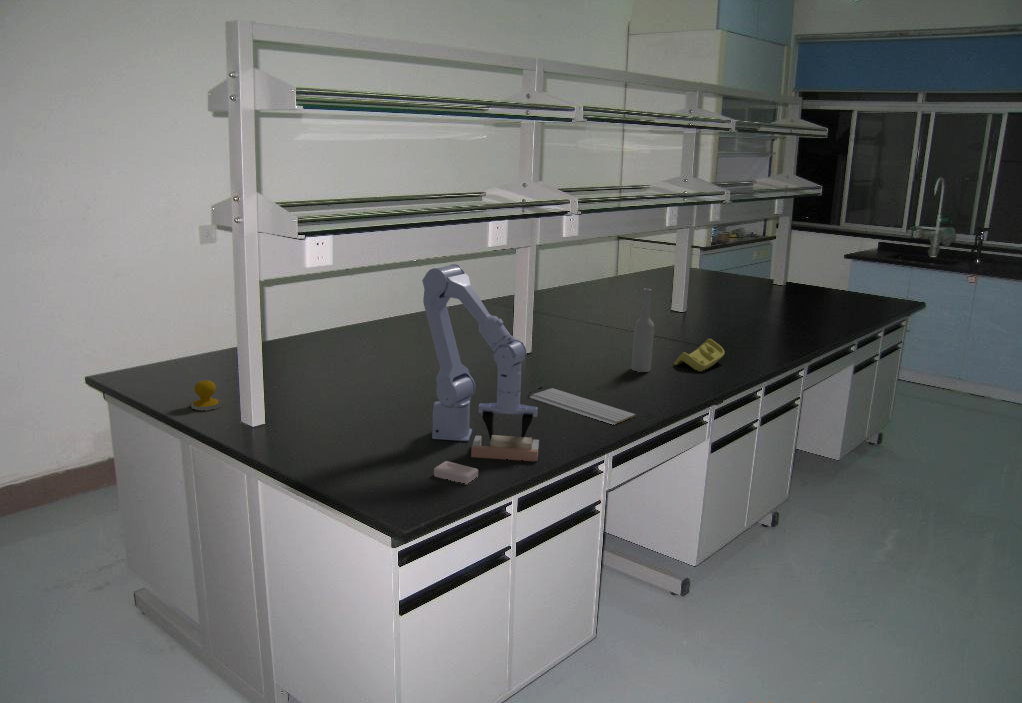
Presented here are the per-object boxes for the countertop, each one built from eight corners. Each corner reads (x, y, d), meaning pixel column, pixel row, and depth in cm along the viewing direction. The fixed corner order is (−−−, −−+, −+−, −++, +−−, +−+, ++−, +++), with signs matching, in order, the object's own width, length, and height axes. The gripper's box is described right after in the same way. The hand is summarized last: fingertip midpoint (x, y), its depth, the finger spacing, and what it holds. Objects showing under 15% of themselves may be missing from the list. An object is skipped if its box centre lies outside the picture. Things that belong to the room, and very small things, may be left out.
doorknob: (195, 413, 216) (187, 405, 222) (225, 408, 221) (216, 400, 227) (194, 387, 214) (185, 379, 220) (224, 382, 219) (214, 375, 225)
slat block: (489, 456, 196) (490, 440, 195) (491, 449, 200) (492, 434, 199) (530, 459, 195) (531, 443, 194) (531, 452, 199) (532, 437, 198)
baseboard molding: (610, 429, 218) (635, 419, 227) (610, 419, 218) (636, 409, 226) (525, 400, 239) (551, 392, 247) (526, 391, 238) (552, 383, 246)
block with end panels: (471, 457, 195) (471, 447, 194) (475, 444, 202) (475, 435, 202) (536, 461, 193) (537, 452, 193) (538, 449, 201) (539, 439, 200)
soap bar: (445, 469, 188) (445, 459, 187) (478, 477, 184) (479, 468, 184) (432, 477, 183) (433, 467, 183) (467, 486, 180) (467, 476, 179)
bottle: (634, 373, 269) (641, 291, 261) (628, 367, 275) (634, 287, 267) (653, 372, 270) (660, 291, 263) (646, 367, 276) (653, 287, 269)
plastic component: (703, 367, 271) (680, 349, 275) (693, 383, 275) (671, 365, 279) (729, 352, 286) (706, 335, 290) (719, 367, 290) (697, 351, 294)
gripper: (539, 386, 200) (536, 437, 203) (481, 382, 201) (479, 433, 204) (537, 395, 193) (535, 447, 197) (478, 391, 194) (476, 443, 198)
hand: (506, 441), depth 200 cm, fingers open, 7 cm apart
